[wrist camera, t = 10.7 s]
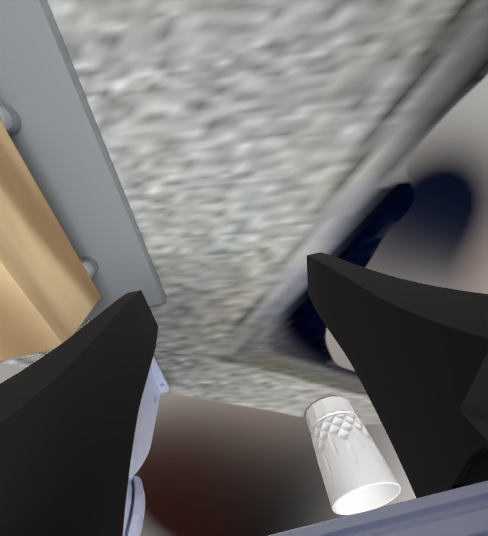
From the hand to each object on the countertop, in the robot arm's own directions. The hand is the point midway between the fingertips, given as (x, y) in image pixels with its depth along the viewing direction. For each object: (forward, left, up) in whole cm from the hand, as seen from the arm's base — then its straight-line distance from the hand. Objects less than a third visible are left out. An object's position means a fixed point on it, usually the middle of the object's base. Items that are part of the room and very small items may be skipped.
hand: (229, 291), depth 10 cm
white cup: (-31, -9, -11) cm, 34 cm away
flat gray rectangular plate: (+4, +12, -10) cm, 16 cm away
